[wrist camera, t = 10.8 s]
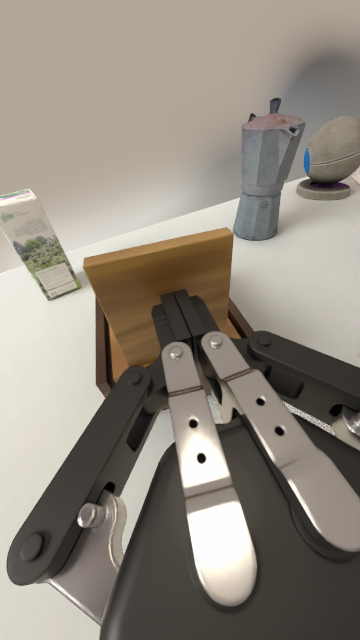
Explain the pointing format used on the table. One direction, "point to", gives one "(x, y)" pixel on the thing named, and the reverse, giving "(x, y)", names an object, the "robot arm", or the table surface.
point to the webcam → (331, 159)
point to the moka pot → (265, 170)
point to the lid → (159, 289)
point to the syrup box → (36, 243)
